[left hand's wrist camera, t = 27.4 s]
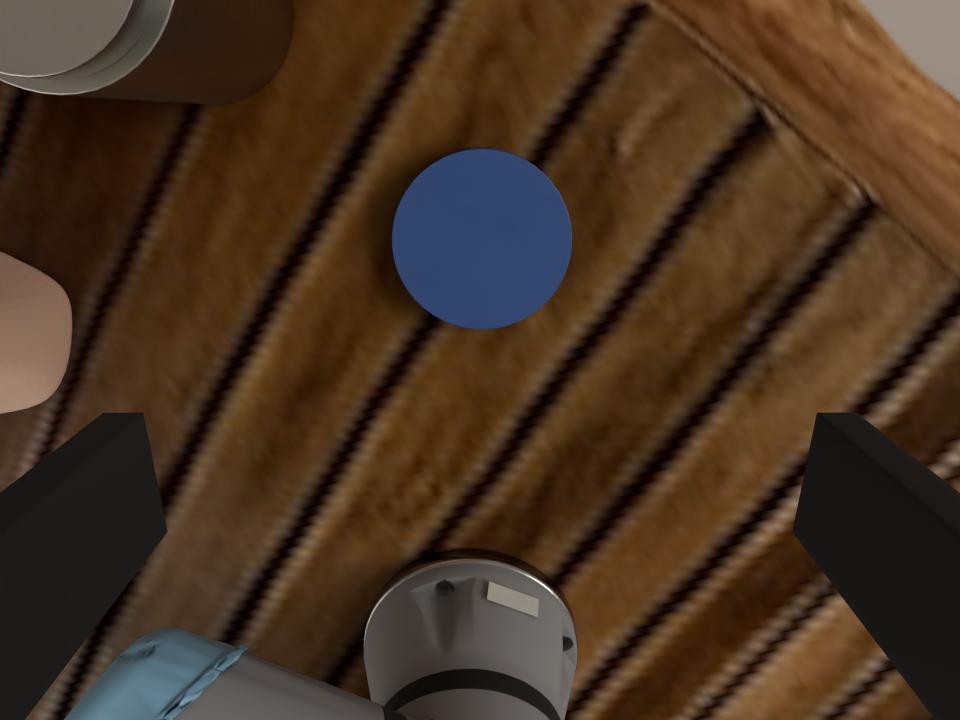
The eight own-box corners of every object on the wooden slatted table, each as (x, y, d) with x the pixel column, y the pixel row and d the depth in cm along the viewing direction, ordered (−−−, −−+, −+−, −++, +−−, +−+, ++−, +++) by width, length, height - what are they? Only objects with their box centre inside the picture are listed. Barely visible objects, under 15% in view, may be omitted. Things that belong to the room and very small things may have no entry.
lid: (415, 333, 39) (413, 342, 37) (377, 165, 35) (372, 168, 34) (578, 305, 38) (582, 313, 36) (555, 132, 35) (559, 132, 33)
